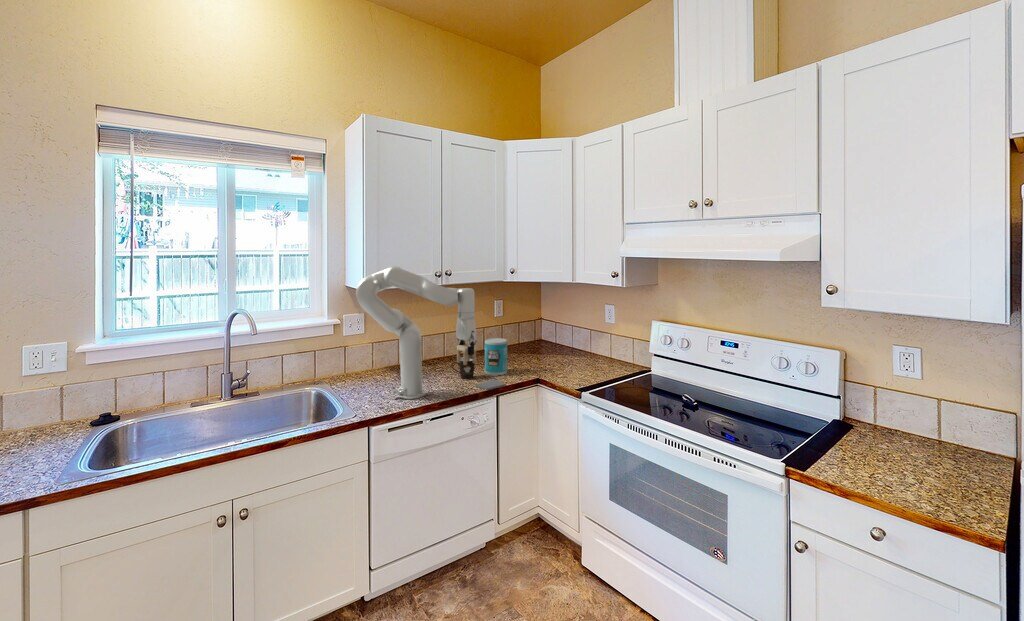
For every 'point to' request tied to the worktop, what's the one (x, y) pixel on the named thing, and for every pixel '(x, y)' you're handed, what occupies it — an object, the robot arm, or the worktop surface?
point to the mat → (490, 384)
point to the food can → (495, 356)
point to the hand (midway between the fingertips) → (466, 352)
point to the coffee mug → (466, 369)
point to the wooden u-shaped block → (465, 354)
